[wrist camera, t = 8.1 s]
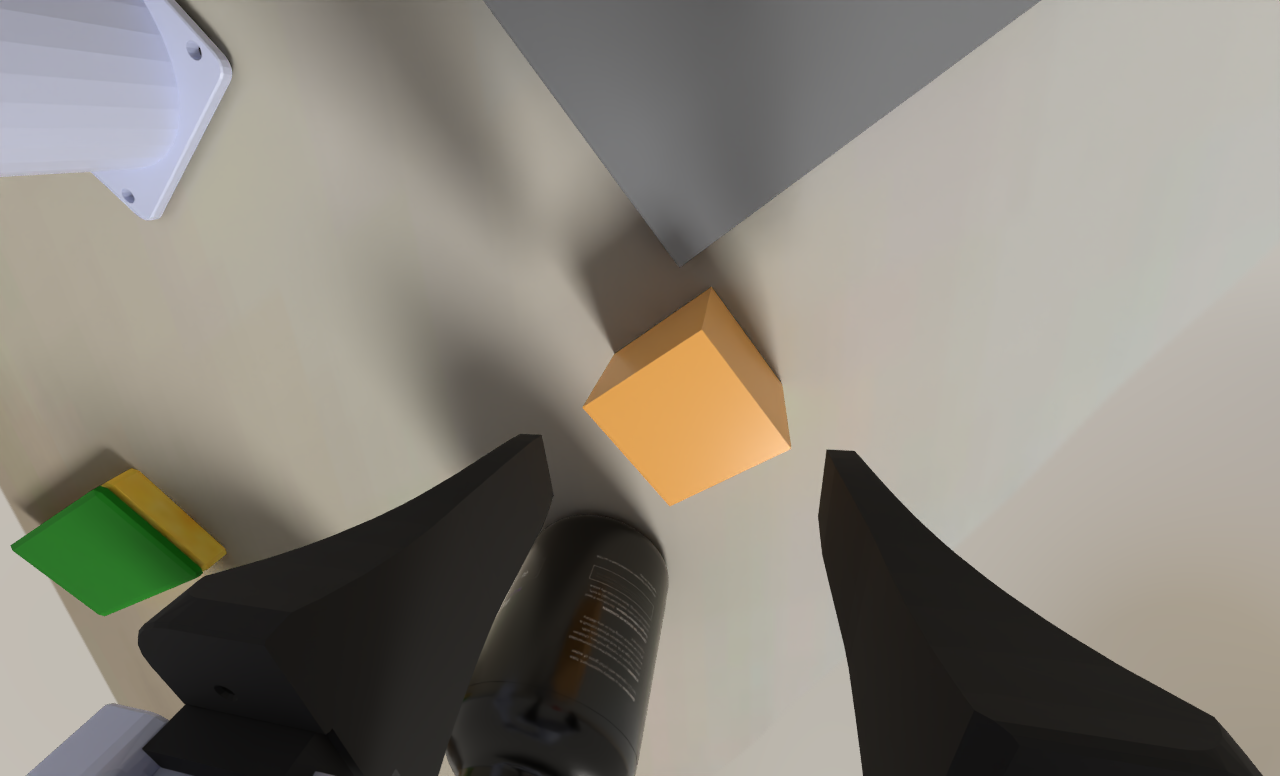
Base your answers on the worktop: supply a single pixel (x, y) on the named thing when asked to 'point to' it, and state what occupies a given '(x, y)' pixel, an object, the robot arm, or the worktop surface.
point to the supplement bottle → (567, 658)
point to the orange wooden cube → (691, 401)
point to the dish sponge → (120, 545)
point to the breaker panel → (734, 89)
